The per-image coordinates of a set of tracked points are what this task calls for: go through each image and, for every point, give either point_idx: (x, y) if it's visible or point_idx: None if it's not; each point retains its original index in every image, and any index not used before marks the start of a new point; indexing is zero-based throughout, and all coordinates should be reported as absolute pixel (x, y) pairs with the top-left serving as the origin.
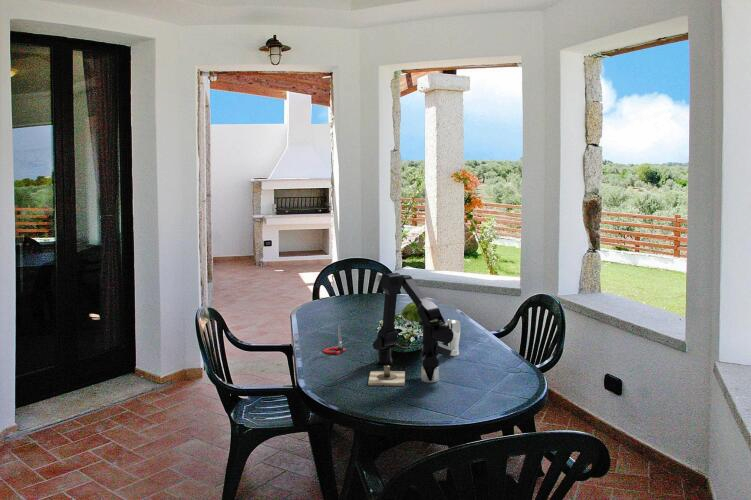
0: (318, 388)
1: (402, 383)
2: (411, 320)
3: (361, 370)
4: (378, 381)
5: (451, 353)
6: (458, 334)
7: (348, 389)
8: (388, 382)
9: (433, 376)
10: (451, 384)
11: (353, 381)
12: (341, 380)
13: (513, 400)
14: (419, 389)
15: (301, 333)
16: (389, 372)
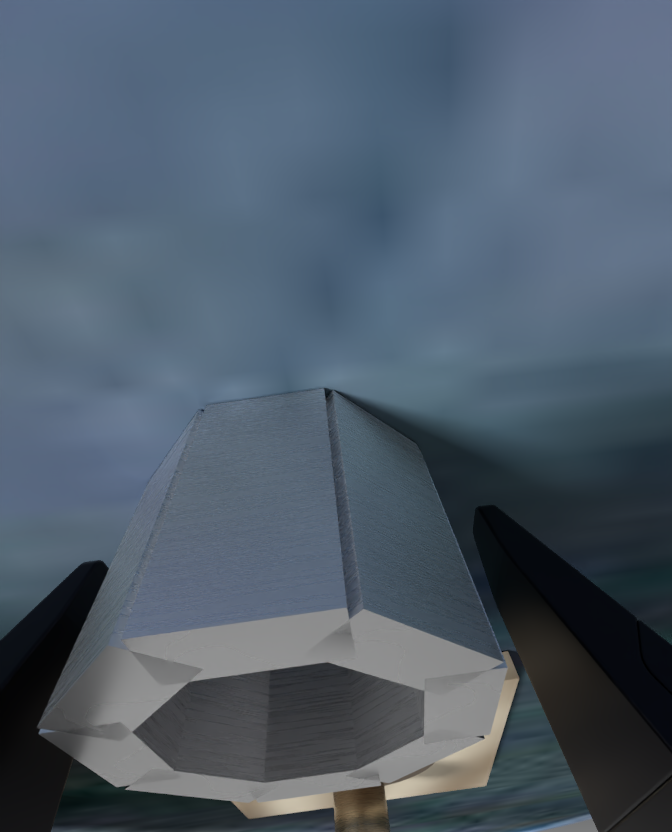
0: (502, 828)
1: (514, 682)
2: None
3: (209, 820)
4: (461, 768)
5: None
6: None
7: (533, 787)
8: (488, 738)
9: (452, 530)
10: (539, 89)
11: (408, 800)
12: (396, 820)
13: None
14: (647, 548)
15: None
16: (374, 814)
